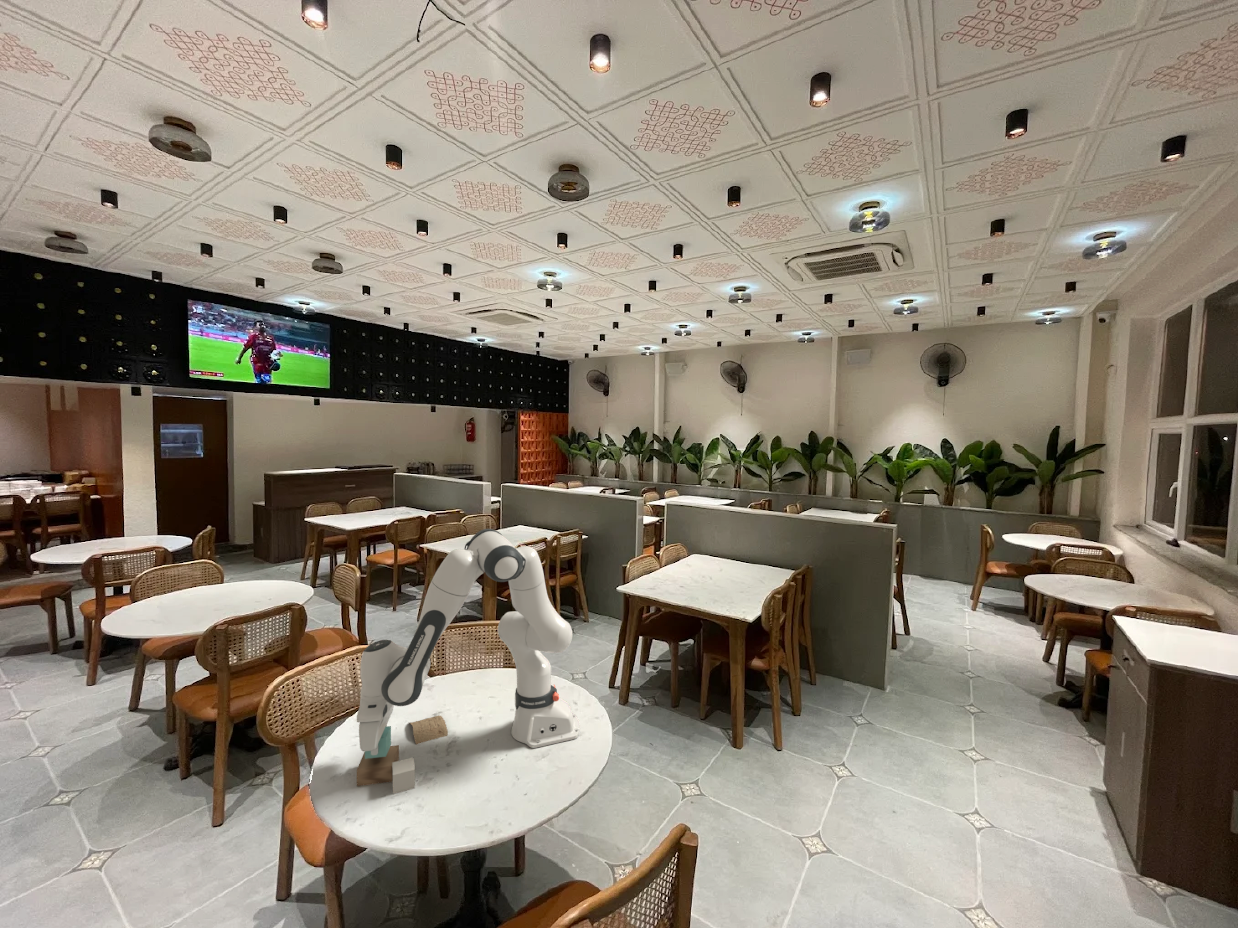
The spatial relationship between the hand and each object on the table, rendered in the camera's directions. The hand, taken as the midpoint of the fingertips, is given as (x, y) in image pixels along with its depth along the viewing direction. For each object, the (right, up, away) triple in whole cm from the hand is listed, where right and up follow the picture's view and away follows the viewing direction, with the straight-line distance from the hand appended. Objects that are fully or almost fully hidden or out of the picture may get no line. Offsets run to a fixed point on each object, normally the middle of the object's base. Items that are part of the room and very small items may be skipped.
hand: (378, 745), depth 138 cm
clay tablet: (+6, -8, +21) cm, 23 cm away
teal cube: (0, -2, 0) cm, 2 cm away
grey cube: (+9, -9, -4) cm, 13 cm away
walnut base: (0, -8, +1) cm, 9 cm away
